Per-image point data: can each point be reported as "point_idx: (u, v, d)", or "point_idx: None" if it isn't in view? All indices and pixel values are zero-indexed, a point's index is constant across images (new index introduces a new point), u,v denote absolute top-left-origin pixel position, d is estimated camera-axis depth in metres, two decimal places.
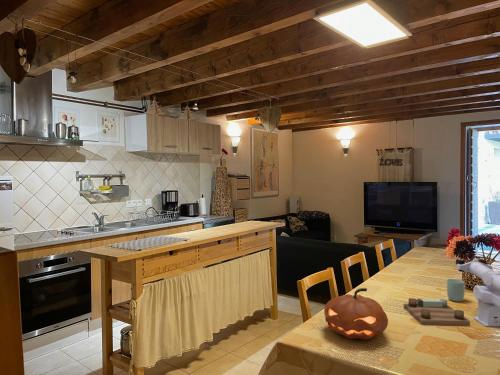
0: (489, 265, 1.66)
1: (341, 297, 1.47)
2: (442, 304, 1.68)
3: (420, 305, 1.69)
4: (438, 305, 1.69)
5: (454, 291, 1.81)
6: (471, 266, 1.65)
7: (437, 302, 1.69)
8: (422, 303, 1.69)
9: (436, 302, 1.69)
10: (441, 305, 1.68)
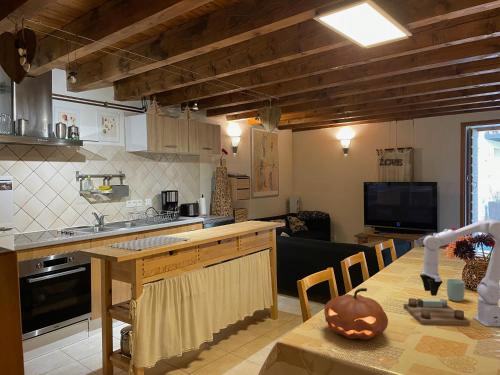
0: (422, 269, 1.69)
1: (341, 297, 1.47)
2: (442, 304, 1.68)
3: (420, 305, 1.69)
4: (438, 305, 1.69)
5: (454, 291, 1.81)
6: (431, 270, 1.60)
7: (437, 302, 1.69)
8: (422, 303, 1.69)
9: (436, 302, 1.69)
10: (441, 305, 1.68)
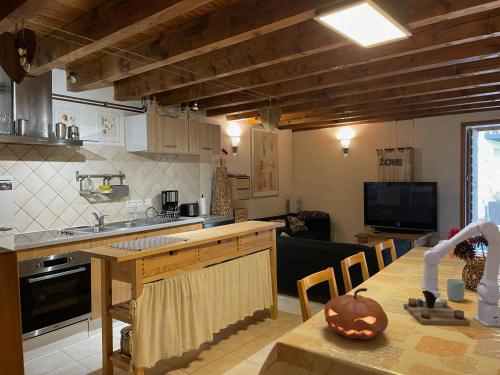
0: (422, 284, 1.69)
1: (341, 297, 1.47)
2: (442, 304, 1.68)
3: (420, 305, 1.69)
4: (438, 305, 1.69)
5: (454, 291, 1.81)
6: (430, 286, 1.60)
7: (437, 302, 1.69)
8: (422, 303, 1.69)
9: (436, 302, 1.69)
10: (441, 305, 1.68)
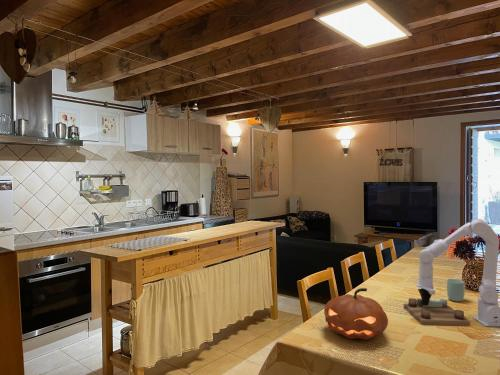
0: (417, 282, 1.74)
1: (341, 297, 1.47)
2: (442, 304, 1.68)
3: (420, 305, 1.69)
4: (438, 305, 1.69)
5: (454, 291, 1.81)
6: (425, 283, 1.65)
7: (437, 302, 1.69)
8: (422, 303, 1.69)
9: (436, 302, 1.69)
10: (441, 305, 1.68)
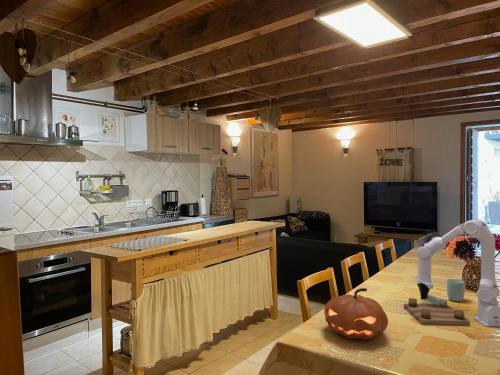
0: (416, 277, 1.82)
1: (341, 297, 1.47)
2: (439, 303, 1.70)
3: None
4: (436, 303, 1.72)
5: (454, 291, 1.81)
6: (424, 278, 1.73)
7: (435, 299, 1.72)
8: None
9: (434, 299, 1.72)
10: (438, 304, 1.70)
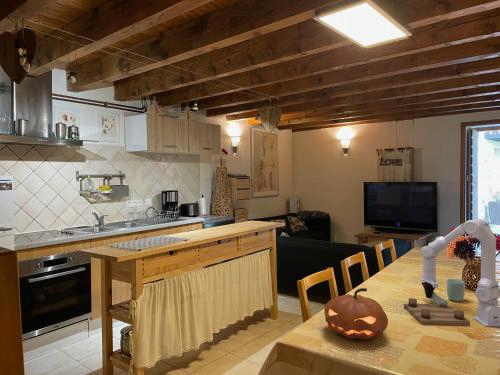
0: (421, 276, 1.84)
1: (341, 297, 1.47)
2: (439, 302, 1.71)
3: None
4: (437, 302, 1.72)
5: (454, 291, 1.81)
6: (429, 277, 1.75)
7: (437, 299, 1.73)
8: None
9: (436, 299, 1.73)
10: (439, 303, 1.71)
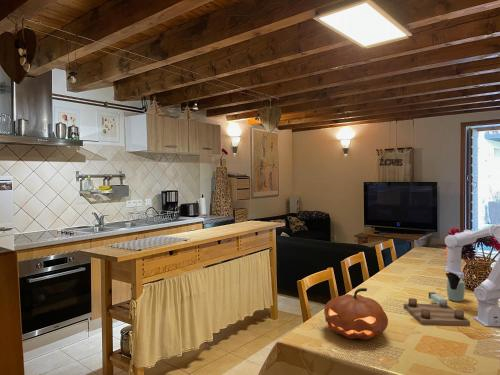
0: (445, 267, 1.78)
1: (341, 297, 1.47)
2: (439, 302, 1.71)
3: (429, 297, 1.81)
4: (437, 302, 1.72)
5: (454, 291, 1.81)
6: (454, 268, 1.69)
7: (437, 299, 1.73)
8: (430, 295, 1.80)
9: (436, 299, 1.73)
10: (439, 303, 1.71)
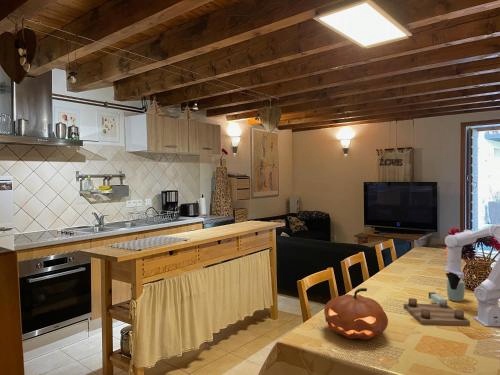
0: (445, 267, 1.78)
1: (341, 297, 1.47)
2: (439, 302, 1.71)
3: (429, 297, 1.81)
4: (437, 302, 1.72)
5: (454, 291, 1.81)
6: (454, 268, 1.69)
7: (437, 299, 1.73)
8: (430, 295, 1.80)
9: (436, 299, 1.73)
10: (439, 303, 1.71)
